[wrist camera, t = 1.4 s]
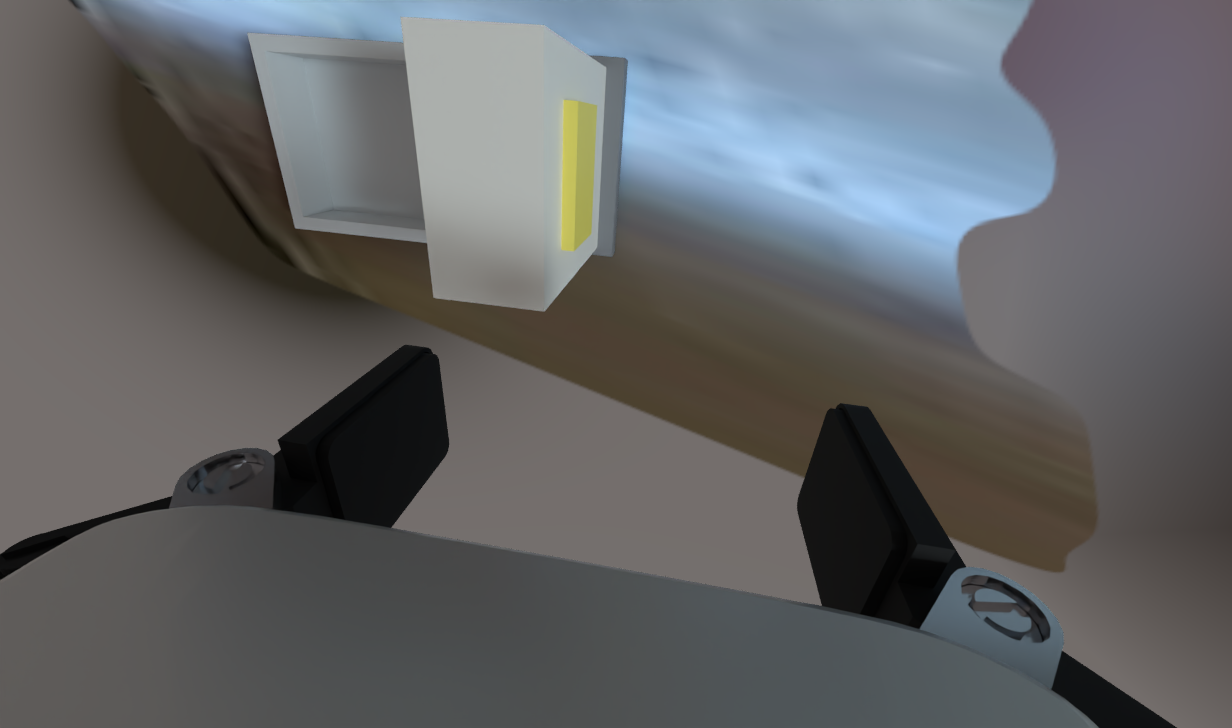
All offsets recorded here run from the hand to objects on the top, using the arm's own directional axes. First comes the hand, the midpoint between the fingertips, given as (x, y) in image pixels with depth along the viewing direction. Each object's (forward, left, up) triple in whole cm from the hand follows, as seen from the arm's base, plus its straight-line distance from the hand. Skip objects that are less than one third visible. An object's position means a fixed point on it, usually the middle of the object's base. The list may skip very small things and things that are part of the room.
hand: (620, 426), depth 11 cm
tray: (-4, -19, -22) cm, 29 cm away
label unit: (-4, -7, -22) cm, 23 cm away
